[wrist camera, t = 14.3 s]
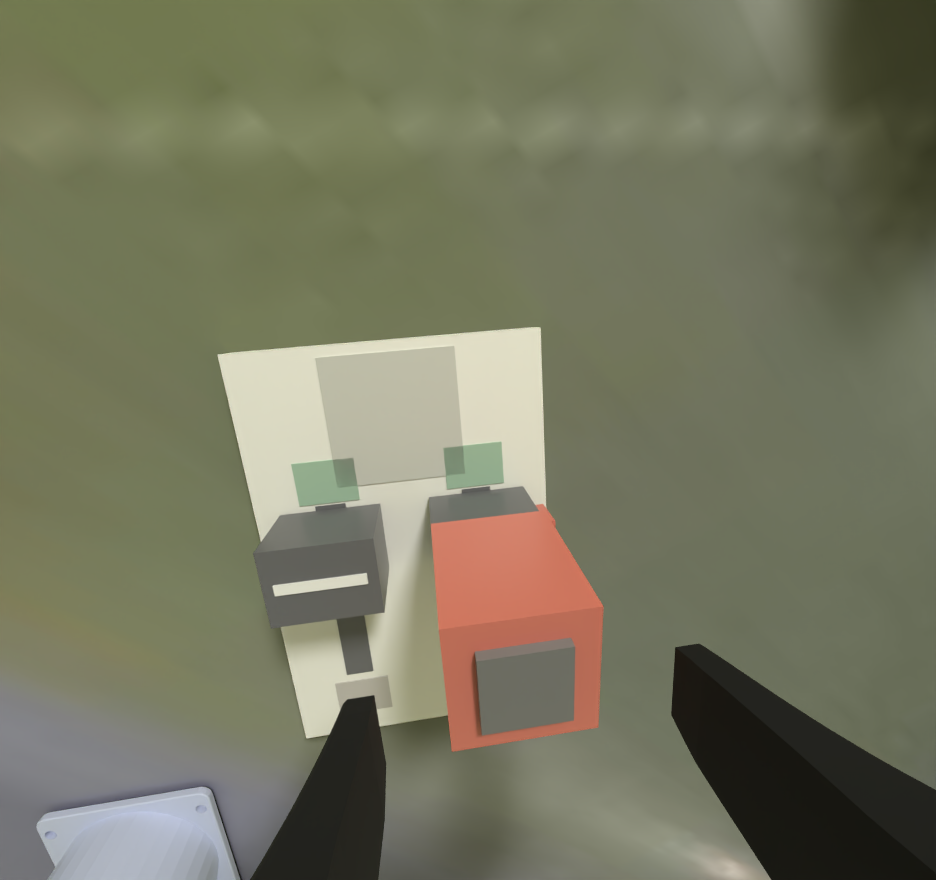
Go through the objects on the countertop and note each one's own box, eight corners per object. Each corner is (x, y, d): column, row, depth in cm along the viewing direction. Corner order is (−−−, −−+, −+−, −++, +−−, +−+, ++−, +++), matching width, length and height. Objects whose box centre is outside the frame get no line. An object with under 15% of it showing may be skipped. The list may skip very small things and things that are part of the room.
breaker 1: (389, 567, 19) (384, 613, 16) (293, 580, 18) (270, 629, 15) (380, 503, 18) (373, 539, 15) (280, 515, 17) (252, 554, 14)
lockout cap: (545, 604, 16) (602, 738, 11) (440, 618, 16) (452, 763, 11) (544, 510, 15) (608, 615, 10) (430, 523, 15) (439, 638, 10)
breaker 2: (539, 547, 19) (561, 588, 16) (435, 561, 19) (439, 605, 16) (536, 484, 18) (559, 515, 15) (428, 497, 18) (431, 531, 15)
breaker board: (545, 679, 23) (552, 699, 22) (312, 716, 22) (306, 739, 21) (532, 327, 18) (540, 327, 17) (231, 352, 17) (217, 354, 16)
